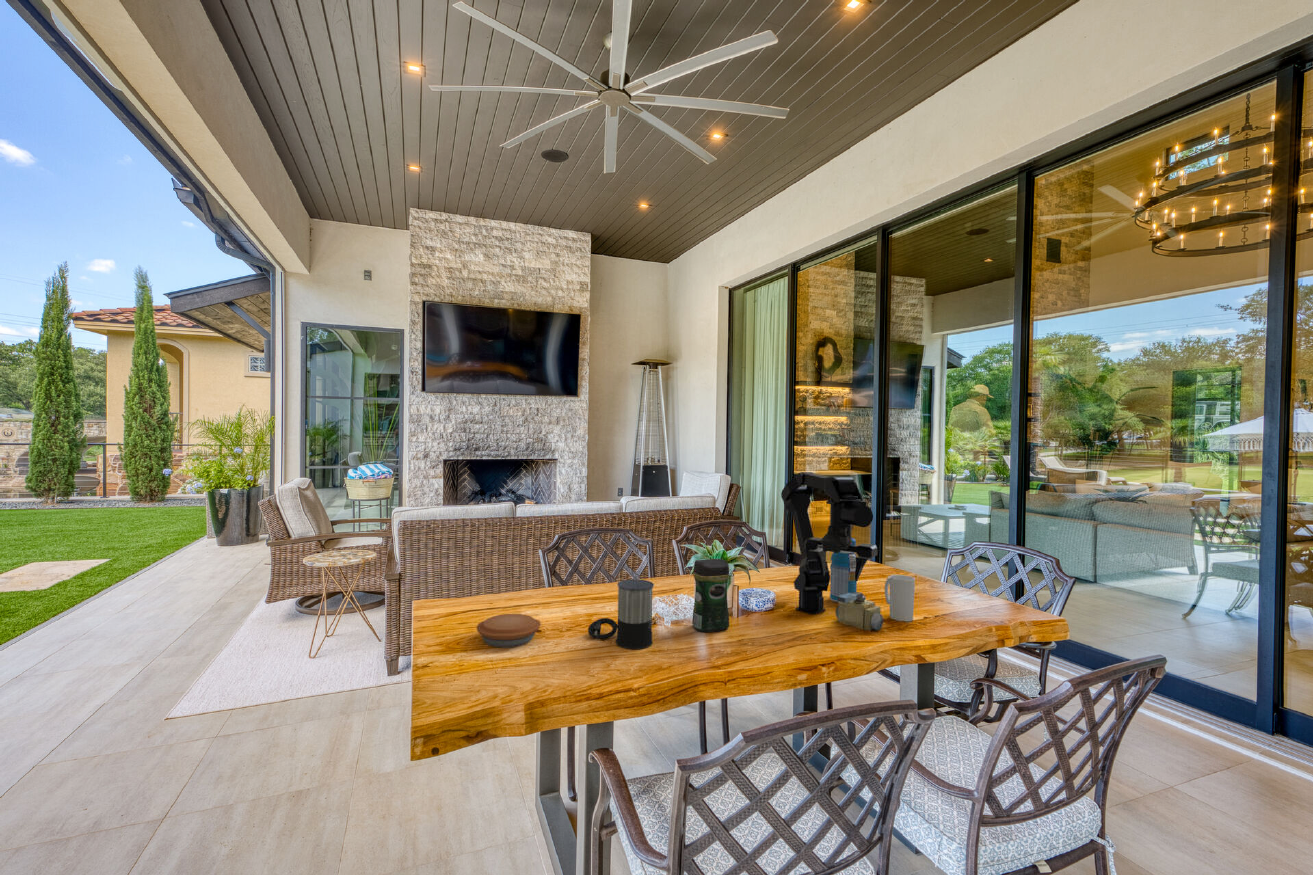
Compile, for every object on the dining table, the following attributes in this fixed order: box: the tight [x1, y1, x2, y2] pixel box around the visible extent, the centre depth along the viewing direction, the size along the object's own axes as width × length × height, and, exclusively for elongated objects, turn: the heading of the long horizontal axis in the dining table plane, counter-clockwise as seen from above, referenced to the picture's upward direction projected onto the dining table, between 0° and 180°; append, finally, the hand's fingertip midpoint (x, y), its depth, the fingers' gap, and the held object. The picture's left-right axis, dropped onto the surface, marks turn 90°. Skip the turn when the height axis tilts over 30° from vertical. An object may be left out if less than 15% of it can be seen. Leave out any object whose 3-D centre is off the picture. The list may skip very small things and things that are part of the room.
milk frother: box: [587, 578, 655, 650], centre depth 144 cm, size 14×16×15 cm
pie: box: [476, 613, 542, 648], centre depth 143 cm, size 16×16×5 cm
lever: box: [837, 591, 867, 603], centre depth 158 cm, size 3×11×2 cm, turn 131°
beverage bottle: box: [829, 537, 858, 604], centre depth 185 cm, size 8×8×20 cm
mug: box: [884, 574, 916, 623], centre depth 169 cm, size 10×7×12 cm, turn 21°
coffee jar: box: [691, 558, 730, 633], centre depth 155 cm, size 10×8×19 cm
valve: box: [835, 599, 884, 632], centre depth 161 cm, size 12×6×6 cm, turn 40°
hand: (839, 578), depth 159 cm, fingers open, 9 cm apart
